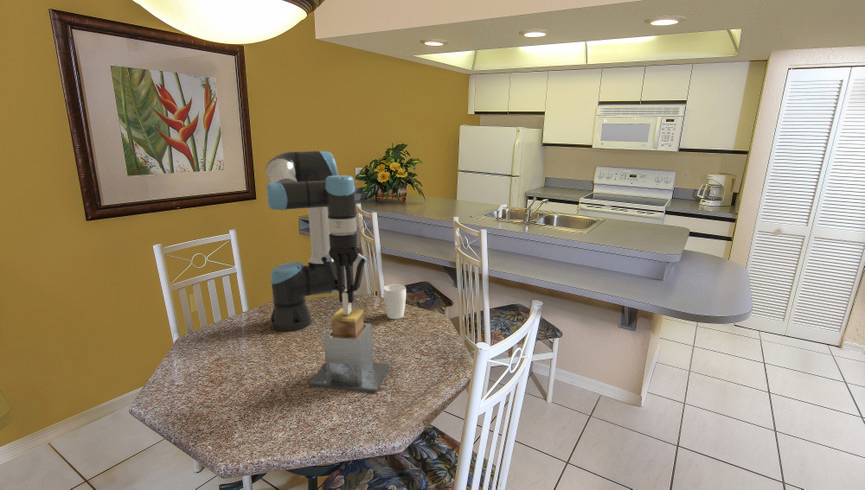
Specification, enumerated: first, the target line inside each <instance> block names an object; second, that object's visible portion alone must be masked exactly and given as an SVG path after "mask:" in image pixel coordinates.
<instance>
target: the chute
mask: <svg viewBox="0 0 865 490" xmlns="http://www.w3.org/2000/svg"><path fill="white" fill-rule="evenodd" d="M323 344H324V345H323V347H324V359H325V363H323V366H322V367H320V369H319V370H318V372H317V373H316V374H315V375H314V376H313V378H312V379H311V380H310V381H309V384H308V387H312V388H322V389H324V388H325V389H333V390H335V389H336V390H344V391H345V390H346V391H355V392H356V391H357V392H367V393H375V394H376V393H377V392H378V391H379V388H380V386H381V385H382V382H383V380H384V379H385V377H386V375H387V372H388V371H389V369H390V364H389V363H380V362H379V363H378V362H374V354H373V353H374V352H373V350H374V349H373V329H372V323H369V322H368V323H366V322H364V329H363V330H362V332H361V333H360V334H359V336H358V337H347V336H333V335H332V327H331V328H330V329H329V330H328V332H327V333H326V334H325V335H324V336H323Z"/></svg>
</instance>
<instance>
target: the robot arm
mask: <svg viewBox="0 0 865 490" xmlns="http://www.w3.org/2000/svg"><path fill="white" fill-rule="evenodd" d="M265 175H266V179H267V180H268V182H269V183H267V184H266V187H265V188H266V197H267V198H266V199H267V207H268V208H269V209H270V210H273V211H275V210H277V211H278V210H279V211H284V210H298V209H299V210H300V209H307V211H308V212H307V213H308V225H309V234H310V237H309V238H310V247H311V248H310V249H311V256H310V257H309V258H308V260H307V265H304V264H303V263H302V262H301V261H290V262H285V263H281V264H279V265H277V266H275V267H274V268H273V269H272V270H271V272H270V284H271V291H272V303H273V308H272V312H271V315H270V323H269V324H270V328H271V327H272V328H273V330H275V331H277V330H278V331H279V332H292V331H297V330H301V329H305V328H306V327H308V326H309V325H310V324H311V323H312V321H313V319H312V314H311V311H310V308H309V307H308V305H307V303H306V297H310V296H315V295H316V296H317V295H323V294H332V293H337V292H338V297H339V300H338V301H339V303H341V304H342V308H343V315H349V314H350V312H351V311H352V309H353V308H352V303H354V300H355V296H354V293H355V292H356V291H357V290H359V289H360V288H361V282H362V277H363V272H364V267H365V264H366V263H367V261H368V257H367V256H363V255H362V254H360V250H359V248H358V234H357V230H358V229H357V228H358V227H357V212H356V193H355V192H356V186H355V180H354V177H353V176H351V175H346V174H343V175H342V174H339V171H338V167H337V162H336V160H335V157H334V155H333V153H331V152H330V151H325V150H323V151H322V150H318V151H315V150H314V151H287V152H281V153H280V154H278V155H275V156H274V157H273V158H271V159H270V160H269V161H268V163H267V164H266V167H265ZM356 260H357V261H356ZM355 261H356V263H358V264H357V267H356V271H355V276H354V263H355ZM345 276H346V277H345ZM354 277H355V278H354Z"/></svg>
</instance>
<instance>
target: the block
mask: <svg viewBox="0 0 865 490" xmlns="http://www.w3.org/2000/svg"><path fill="white" fill-rule="evenodd" d="M351 309H352V311H351V312H350V314H349V315H343V307H342V308H341V307H340V308H339V309H338V310H337V311H336V312H335V313H334V314H333V315H332V316H331V318H330V320H331V323H330V324H331V328H332V335H333V336H347V337H358V336H359V334H360V333H361V332H362V330H363V329H364V323H365V322H364V309H361V308H360V309H358V308H351Z"/></svg>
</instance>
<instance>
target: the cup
mask: <svg viewBox="0 0 865 490" xmlns="http://www.w3.org/2000/svg"><path fill="white" fill-rule="evenodd" d="M382 295H383V300H384V305H385V312H386V317H387V318H388V319H392V320H398V319H401V318H403V317H405V309H406V299H407V288H406V286H405V285H403V284H398V283H391V284H387V285H385V286H384V287H383V294H382Z"/></svg>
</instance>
